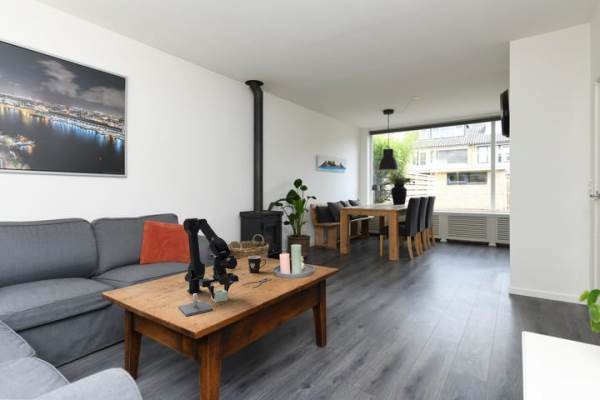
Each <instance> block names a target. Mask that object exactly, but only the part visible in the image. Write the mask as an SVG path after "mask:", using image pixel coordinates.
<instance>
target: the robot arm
mask: <svg viewBox="0 0 600 400" xmlns="http://www.w3.org/2000/svg"><path fill="white" fill-rule="evenodd" d="M182 224H183V225H182V227H183V229H184V232H185V233H186V234H187V238H188V248H189V257H190V259H189V260H190V263H189V264H188V268H187V273H186V274H185V276H184V281H185V282H188V289H186V291H187V293H189V294H190V295H191V294H195V293H197V294H198V293H201V292H203V290H202V289H201V288H207V289H208V291H209V293H210V297H211V296H212V298H213V299H214V291H215V286H214V284H217V283H218V284H219V285H220V286H223V289H224V290H225V291H227V293H228V292H229V289H230V287H231V286H232V285H234V283H237V282H239V281H240V280H239V279H240V278H239V276H238V275H237V274H235V273H234V272H227V270H235V269H236V268H237V266H238V261H237V258H236V257H235V255H234V254H232V252H231V250H230V248H229V245H228V243H227V241H226V240H224V239H223V238H222V237H220V236H218V235H217V233H216V232H215V231H214V230H213V228H212V227H211V225H210V224H209V223H208V220H207V219H206V218H198V217H190V218H188V217H187V218H185V219H184V221H183V222H182ZM200 231H201V233H202V234H203V236H204V237H205V238H206V240H207V242H208V243H209V249H210V251H211V252H212V253H211V254H210V257H212V259H213V260H212V261H213V262H212V263H213V266H212V271H213V274H212V278H211V279H209V278H205V275H206V267H205V266H206V265H205V263H203V262H202V261H201V254H200V253H201V252H200V244H199V232H200Z"/></svg>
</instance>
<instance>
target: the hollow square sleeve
mask: <svg viewBox="0 0 600 400" xmlns="http://www.w3.org/2000/svg"><path fill="white" fill-rule="evenodd" d="M210 297H211V300H212V301H213V302H214V303H219V302H224V301H228V292H227V291H225V290H224V288H221V289H217V290H215V289H214V299H213V298H212V296H211V295H210Z"/></svg>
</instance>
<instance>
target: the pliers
mask: <svg viewBox="0 0 600 400" xmlns="http://www.w3.org/2000/svg"><path fill="white" fill-rule="evenodd" d="M271 280H272V279H271V278H269V279H268V277H266V278H263V279H260V280H258V281H252V282H246V283H243V284H241V286H242V287H243V286H246V285H248V284H257V283H258V285H257V286H256V285H255V286H253V287H252V289H255V288H258V287H260V286H261V285H262V284H264V283H266V282H269V281H271Z"/></svg>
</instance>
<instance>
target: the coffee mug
mask: <svg viewBox="0 0 600 400" xmlns="http://www.w3.org/2000/svg"><path fill="white" fill-rule="evenodd" d="M247 261H248V270H249V274H258V273H260V269H262V268H263V267H265V265H266V263H267V260H266V259H262V258H261V256H259V255H251V256H248V257H247ZM262 261H264V264H263V265H262V266H261V262H262Z"/></svg>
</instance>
